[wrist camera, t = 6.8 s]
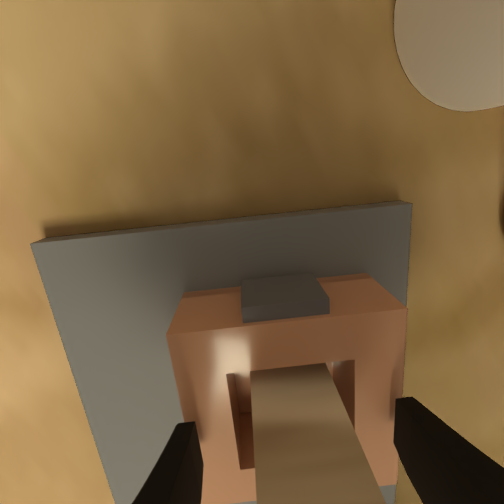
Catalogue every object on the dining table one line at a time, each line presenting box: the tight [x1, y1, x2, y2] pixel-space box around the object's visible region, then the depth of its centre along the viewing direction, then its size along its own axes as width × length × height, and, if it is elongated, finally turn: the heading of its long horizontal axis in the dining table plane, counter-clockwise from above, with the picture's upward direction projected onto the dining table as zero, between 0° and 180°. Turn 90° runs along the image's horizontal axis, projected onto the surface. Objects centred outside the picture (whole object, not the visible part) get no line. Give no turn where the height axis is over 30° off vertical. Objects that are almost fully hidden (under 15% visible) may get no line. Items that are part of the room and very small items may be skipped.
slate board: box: [30, 201, 412, 504], centre depth 16 cm, size 22×16×1 cm
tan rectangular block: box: [250, 363, 386, 504], centre depth 10 cm, size 3×3×9 cm
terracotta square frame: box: [166, 273, 408, 504], centre depth 13 cm, size 9×8×3 cm
